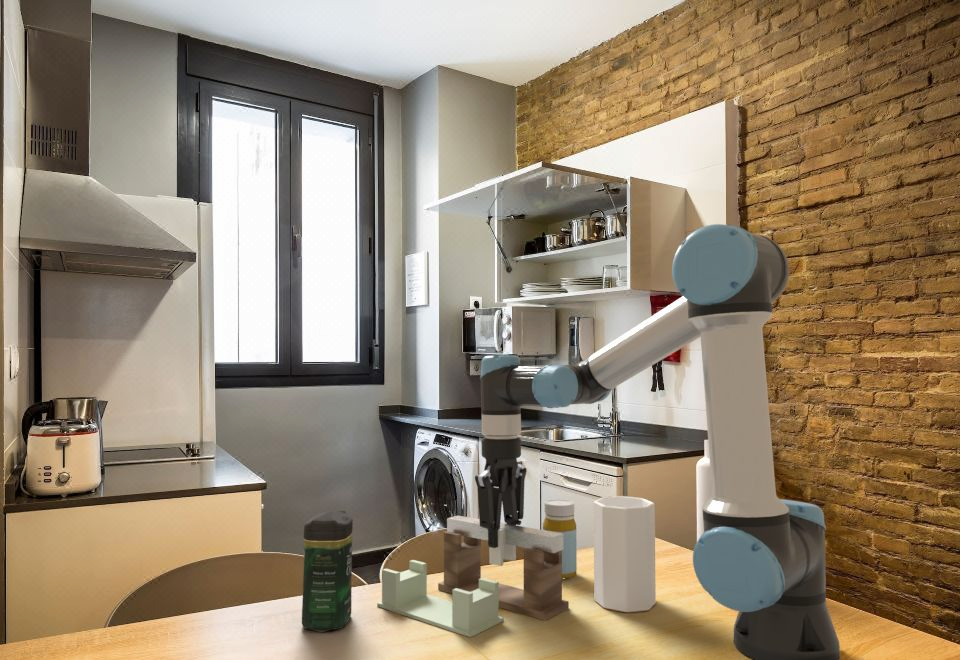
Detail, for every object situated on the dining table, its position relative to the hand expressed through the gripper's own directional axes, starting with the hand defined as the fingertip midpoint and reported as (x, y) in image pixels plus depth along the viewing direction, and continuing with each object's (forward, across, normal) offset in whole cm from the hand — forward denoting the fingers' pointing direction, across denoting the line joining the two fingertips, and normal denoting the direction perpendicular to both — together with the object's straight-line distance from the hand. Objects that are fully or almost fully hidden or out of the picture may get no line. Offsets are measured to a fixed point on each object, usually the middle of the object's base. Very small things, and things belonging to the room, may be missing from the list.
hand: (502, 561), depth 129 cm
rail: (-4, 0, 0) cm, 4 cm away
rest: (+7, +13, -5) cm, 15 cm away
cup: (+7, -13, +18) cm, 24 cm away
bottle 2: (+8, -39, +26) cm, 48 cm away
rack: (+7, 0, -1) cm, 7 cm away
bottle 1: (+7, -19, 0) cm, 20 cm away
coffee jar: (+7, +28, -17) cm, 33 cm away
